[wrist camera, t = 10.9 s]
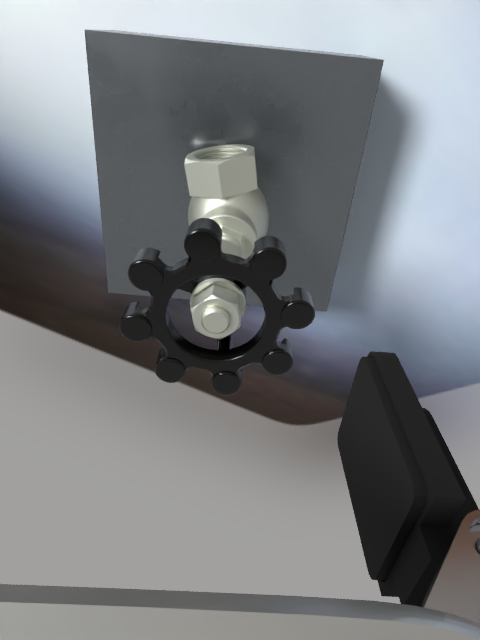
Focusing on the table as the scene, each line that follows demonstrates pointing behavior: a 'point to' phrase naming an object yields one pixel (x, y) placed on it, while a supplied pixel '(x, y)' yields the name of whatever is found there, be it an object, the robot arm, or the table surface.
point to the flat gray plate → (223, 129)
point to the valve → (219, 276)
